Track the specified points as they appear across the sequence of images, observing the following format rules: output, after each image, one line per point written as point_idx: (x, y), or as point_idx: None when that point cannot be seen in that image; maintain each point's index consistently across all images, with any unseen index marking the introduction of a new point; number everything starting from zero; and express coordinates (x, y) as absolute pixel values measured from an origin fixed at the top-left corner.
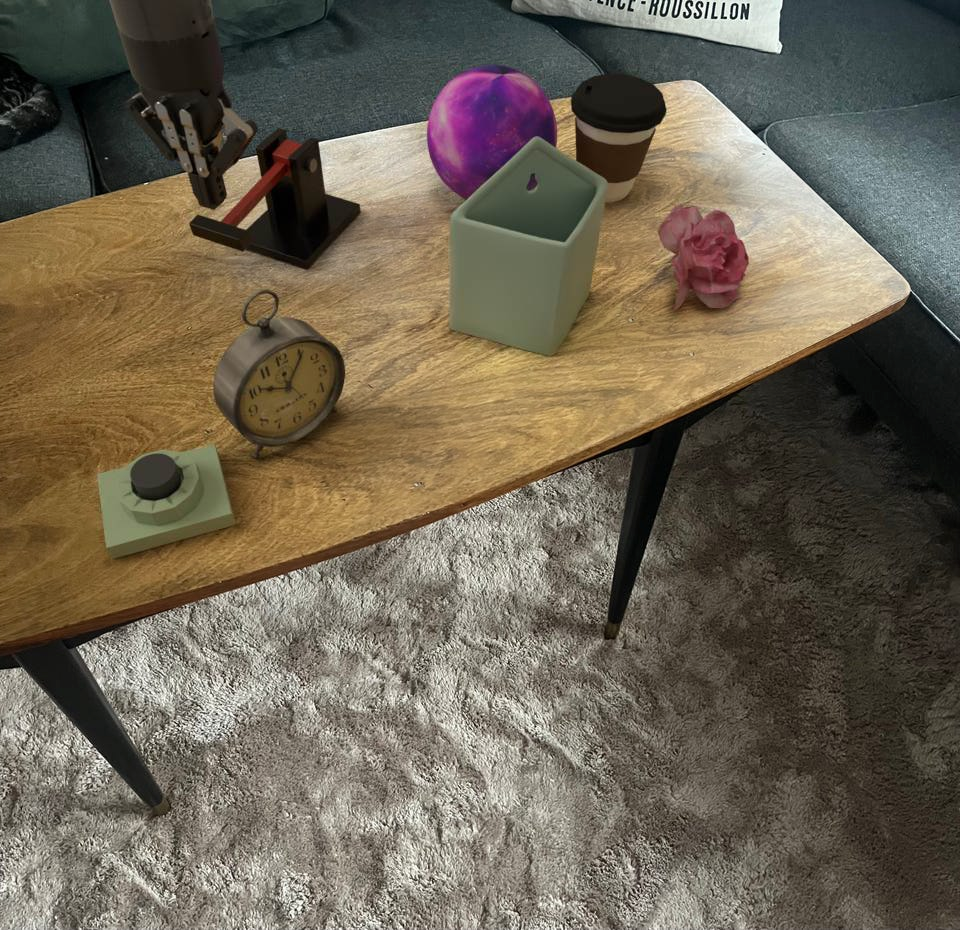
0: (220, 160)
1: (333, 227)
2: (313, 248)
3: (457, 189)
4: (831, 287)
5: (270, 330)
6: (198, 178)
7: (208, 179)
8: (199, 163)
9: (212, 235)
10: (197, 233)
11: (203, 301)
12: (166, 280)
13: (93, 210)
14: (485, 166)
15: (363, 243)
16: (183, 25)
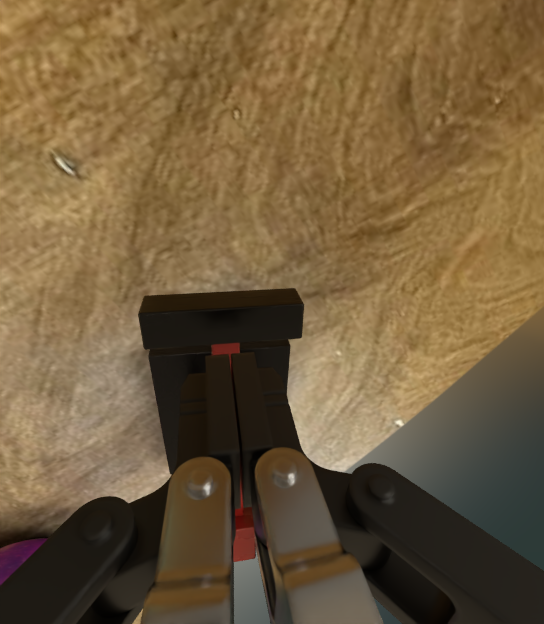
0: (34, 613)
1: (167, 428)
2: (160, 383)
3: (23, 559)
4: None
5: None
6: (233, 440)
7: (201, 451)
8: (203, 521)
9: (232, 300)
10: (280, 293)
11: (260, 198)
12: (355, 216)
13: (539, 299)
14: None
15: (119, 423)
16: None
